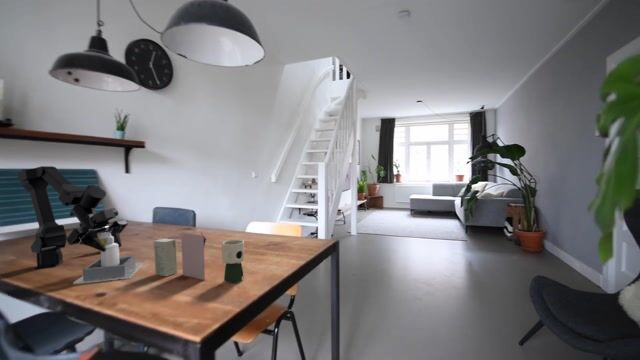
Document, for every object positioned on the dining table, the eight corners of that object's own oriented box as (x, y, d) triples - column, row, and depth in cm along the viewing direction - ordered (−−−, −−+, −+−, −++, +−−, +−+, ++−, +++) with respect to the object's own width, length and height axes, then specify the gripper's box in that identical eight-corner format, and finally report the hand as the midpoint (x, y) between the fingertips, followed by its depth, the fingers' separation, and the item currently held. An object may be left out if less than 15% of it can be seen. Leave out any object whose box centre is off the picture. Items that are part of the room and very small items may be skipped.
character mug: (236, 287, 89) (236, 246, 89) (215, 286, 90) (214, 246, 90) (250, 275, 100) (249, 238, 99) (231, 274, 101) (230, 237, 100)
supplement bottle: (113, 249, 136) (112, 229, 136) (115, 251, 132) (114, 230, 132) (99, 251, 132) (98, 230, 132) (101, 253, 128) (100, 232, 128)
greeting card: (207, 279, 96) (206, 235, 96) (182, 283, 93) (181, 238, 92) (204, 269, 106) (203, 229, 106) (182, 272, 103) (181, 231, 103)
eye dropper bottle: (121, 266, 104) (120, 233, 103) (102, 269, 99) (100, 235, 99) (118, 263, 107) (117, 231, 106) (99, 267, 102) (98, 233, 102)
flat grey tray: (72, 284, 93) (72, 272, 93) (94, 268, 108) (94, 258, 108) (129, 278, 98) (129, 266, 98) (142, 264, 113) (142, 253, 113)
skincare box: (177, 273, 103) (176, 239, 102) (166, 277, 99) (165, 242, 98) (165, 270, 105) (164, 237, 105) (154, 274, 102) (153, 240, 101)
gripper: (72, 204, 94) (99, 240, 92) (123, 199, 112) (147, 228, 110) (55, 227, 96) (81, 262, 94) (108, 218, 114) (131, 247, 112)
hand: (112, 248), depth 102 cm, fingers closed on eye dropper bottle, 5 cm apart
